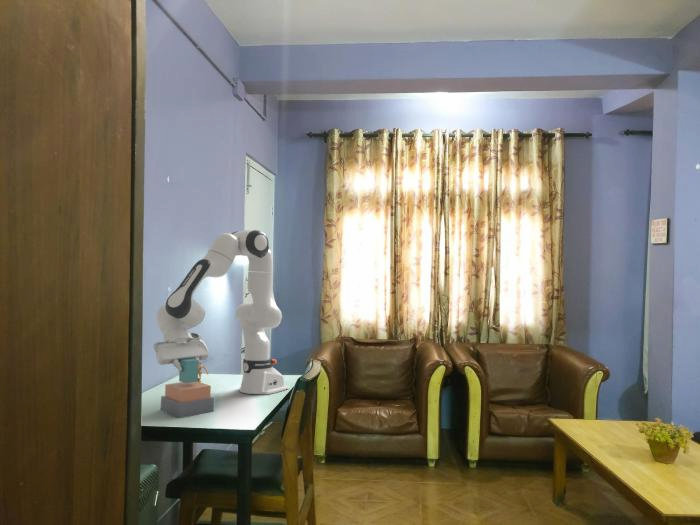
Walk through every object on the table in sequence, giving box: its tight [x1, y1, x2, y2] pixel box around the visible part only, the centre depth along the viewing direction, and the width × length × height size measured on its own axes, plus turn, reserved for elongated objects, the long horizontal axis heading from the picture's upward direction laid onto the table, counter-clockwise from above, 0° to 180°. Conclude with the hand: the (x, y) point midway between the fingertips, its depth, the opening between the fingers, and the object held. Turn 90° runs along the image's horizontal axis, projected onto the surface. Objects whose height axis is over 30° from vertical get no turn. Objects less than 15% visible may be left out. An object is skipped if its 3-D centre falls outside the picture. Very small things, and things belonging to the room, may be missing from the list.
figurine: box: [198, 363, 209, 382], centre depth 229 cm, size 8×6×12 cm
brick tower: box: [160, 381, 215, 419], centre depth 198 cm, size 14×14×10 cm
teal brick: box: [178, 358, 200, 383], centre depth 198 cm, size 5×5×8 cm
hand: (189, 369), depth 198 cm, fingers closed on teal brick, 5 cm apart
